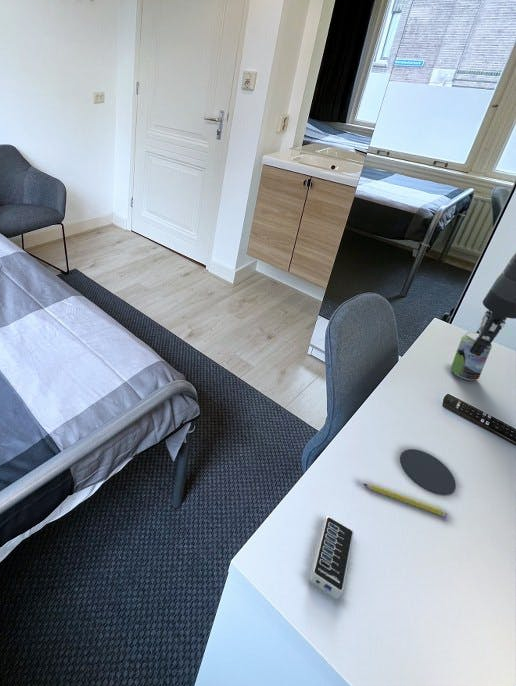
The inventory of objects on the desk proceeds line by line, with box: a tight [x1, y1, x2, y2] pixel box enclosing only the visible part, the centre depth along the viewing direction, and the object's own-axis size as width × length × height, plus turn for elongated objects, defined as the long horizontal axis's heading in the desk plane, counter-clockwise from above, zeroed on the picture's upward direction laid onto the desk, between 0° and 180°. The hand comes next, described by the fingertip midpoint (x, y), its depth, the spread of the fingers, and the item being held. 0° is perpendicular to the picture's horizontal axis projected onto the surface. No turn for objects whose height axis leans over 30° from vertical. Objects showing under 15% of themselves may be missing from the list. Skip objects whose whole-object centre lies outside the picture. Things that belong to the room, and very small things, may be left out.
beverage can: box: [450, 331, 493, 381], centre depth 109 cm, size 6×7×12 cm
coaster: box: [399, 448, 457, 495], centre depth 85 cm, size 10×10×1 cm
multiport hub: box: [308, 515, 354, 600], centre depth 68 cm, size 4×11×2 cm, turn 146°
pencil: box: [362, 483, 448, 518], centre depth 79 cm, size 1×14×1 cm, turn 69°
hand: (476, 346), depth 107 cm, fingers open, 8 cm apart
